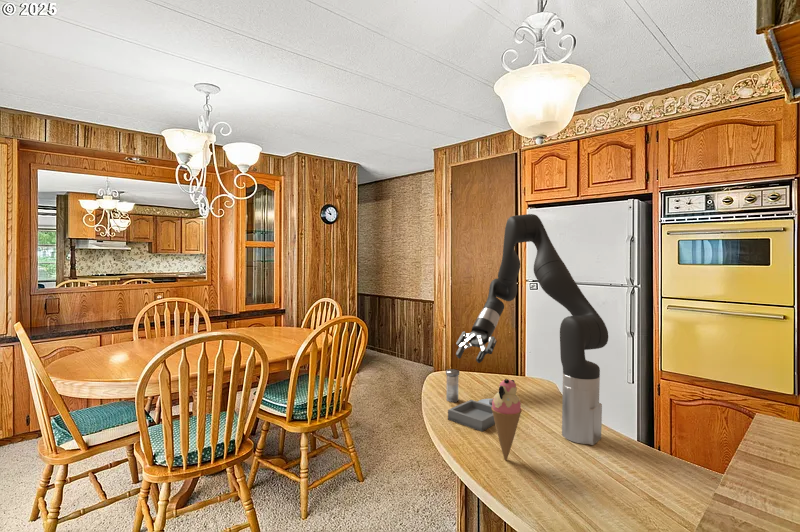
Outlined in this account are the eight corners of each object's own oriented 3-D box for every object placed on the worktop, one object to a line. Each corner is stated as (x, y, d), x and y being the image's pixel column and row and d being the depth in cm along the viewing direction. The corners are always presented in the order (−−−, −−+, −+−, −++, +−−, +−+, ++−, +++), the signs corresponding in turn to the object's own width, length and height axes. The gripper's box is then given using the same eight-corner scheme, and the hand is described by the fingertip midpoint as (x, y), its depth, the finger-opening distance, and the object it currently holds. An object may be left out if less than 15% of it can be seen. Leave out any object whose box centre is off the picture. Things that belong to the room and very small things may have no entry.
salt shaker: (461, 400, 143) (462, 371, 143) (453, 403, 140) (453, 373, 139) (451, 396, 146) (451, 368, 146) (442, 400, 143) (442, 371, 143)
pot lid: (514, 408, 135) (515, 391, 135) (498, 417, 128) (498, 399, 128) (488, 400, 142) (488, 384, 142) (471, 408, 135) (471, 391, 135)
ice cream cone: (513, 470, 97) (514, 385, 97) (485, 461, 102) (485, 379, 101) (527, 457, 104) (528, 377, 103) (500, 448, 108) (500, 371, 107)
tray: (504, 419, 127) (504, 409, 127) (481, 431, 118) (481, 421, 118) (471, 408, 135) (471, 399, 135) (447, 419, 127) (447, 409, 127)
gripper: (466, 314, 159) (447, 349, 152) (499, 319, 149) (480, 357, 142) (474, 326, 163) (456, 361, 156) (506, 331, 153) (489, 369, 146)
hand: (467, 359), depth 149 cm, fingers open, 8 cm apart
